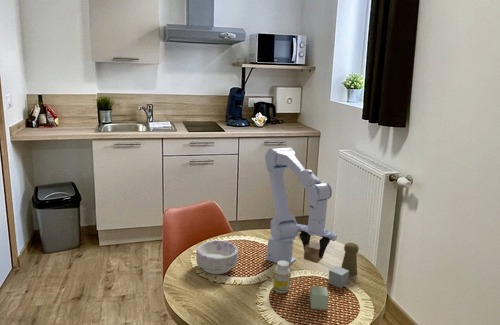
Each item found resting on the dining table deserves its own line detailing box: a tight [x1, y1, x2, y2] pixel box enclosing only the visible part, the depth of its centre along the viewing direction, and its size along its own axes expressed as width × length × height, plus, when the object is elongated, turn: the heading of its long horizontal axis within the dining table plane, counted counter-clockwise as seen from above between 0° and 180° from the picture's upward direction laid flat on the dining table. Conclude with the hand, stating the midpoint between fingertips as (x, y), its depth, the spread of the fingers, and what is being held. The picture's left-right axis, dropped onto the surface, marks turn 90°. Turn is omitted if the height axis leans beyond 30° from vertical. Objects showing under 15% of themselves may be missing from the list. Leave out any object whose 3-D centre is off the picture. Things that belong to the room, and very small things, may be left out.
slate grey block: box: [327, 265, 350, 289], centre depth 145 cm, size 5×5×5 cm
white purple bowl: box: [195, 240, 239, 275], centre depth 151 cm, size 15×15×8 cm
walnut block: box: [303, 240, 324, 264], centre depth 143 cm, size 5×5×5 cm
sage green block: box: [309, 285, 329, 311], centre depth 131 cm, size 5×5×5 cm
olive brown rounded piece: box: [340, 242, 360, 276], centre depth 153 cm, size 6×6×11 cm
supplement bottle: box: [273, 260, 292, 294], centre depth 139 cm, size 5×5×10 cm
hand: (313, 254), depth 143 cm, fingers closed on walnut block, 5 cm apart
